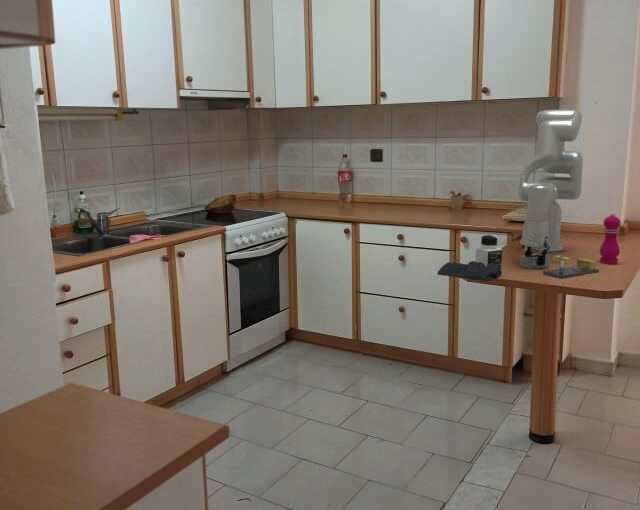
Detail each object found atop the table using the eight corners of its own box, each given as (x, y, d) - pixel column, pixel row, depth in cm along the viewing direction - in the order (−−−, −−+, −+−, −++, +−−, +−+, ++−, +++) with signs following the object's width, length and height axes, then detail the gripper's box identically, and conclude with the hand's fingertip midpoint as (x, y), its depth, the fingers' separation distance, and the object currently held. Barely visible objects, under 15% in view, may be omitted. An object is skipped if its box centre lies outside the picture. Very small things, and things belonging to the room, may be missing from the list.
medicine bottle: (487, 269, 244) (488, 238, 241) (474, 265, 250) (476, 235, 247) (501, 267, 247) (503, 236, 244) (488, 263, 253) (490, 233, 251)
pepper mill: (620, 264, 249) (625, 213, 245) (600, 264, 250) (605, 213, 246) (616, 260, 256) (620, 211, 251) (596, 260, 257) (600, 210, 253)
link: (519, 266, 248) (520, 256, 247) (536, 263, 252) (537, 253, 251) (531, 269, 243) (532, 258, 242) (548, 266, 247) (549, 256, 246)
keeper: (543, 274, 235) (543, 260, 234) (580, 267, 244) (581, 255, 243) (560, 278, 228) (561, 264, 227) (598, 272, 237) (599, 258, 236)
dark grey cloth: (449, 267, 249) (449, 255, 248) (505, 274, 237) (506, 261, 236) (433, 275, 236) (434, 263, 235) (492, 283, 224) (493, 269, 223)
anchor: (552, 261, 256) (553, 254, 256) (558, 260, 258) (558, 253, 257) (564, 263, 251) (565, 257, 251) (570, 263, 253) (570, 256, 252)
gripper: (513, 215, 249) (510, 260, 253) (547, 221, 235) (544, 269, 238) (527, 214, 253) (524, 258, 257) (562, 219, 238) (559, 266, 242)
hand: (534, 263), depth 247 cm, fingers closed on link, 6 cm apart
